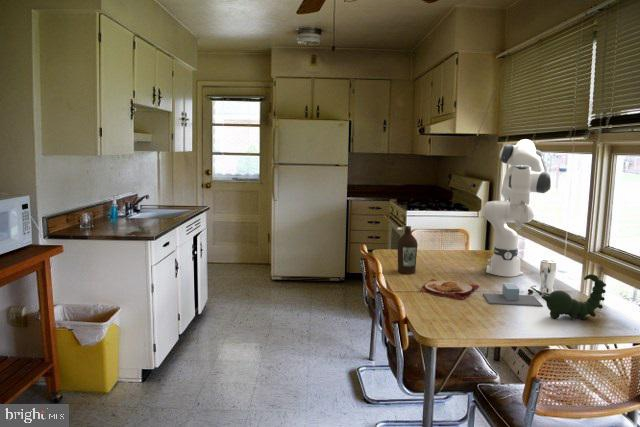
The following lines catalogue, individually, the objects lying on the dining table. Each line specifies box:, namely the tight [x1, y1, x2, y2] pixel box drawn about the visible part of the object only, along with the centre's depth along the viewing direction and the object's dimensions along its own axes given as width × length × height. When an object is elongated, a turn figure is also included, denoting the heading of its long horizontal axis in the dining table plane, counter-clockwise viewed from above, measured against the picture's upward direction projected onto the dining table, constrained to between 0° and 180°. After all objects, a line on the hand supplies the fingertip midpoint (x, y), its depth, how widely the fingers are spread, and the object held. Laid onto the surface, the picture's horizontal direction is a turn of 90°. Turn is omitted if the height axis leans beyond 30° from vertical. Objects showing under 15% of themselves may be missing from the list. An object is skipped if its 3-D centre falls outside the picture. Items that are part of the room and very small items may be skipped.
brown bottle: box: [396, 225, 418, 275], centre depth 268 cm, size 11×11×25 cm
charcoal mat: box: [483, 292, 544, 308], centre depth 220 cm, size 14×22×1 cm, turn 82°
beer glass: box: [539, 259, 557, 295], centre depth 232 cm, size 7×7×15 cm
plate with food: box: [418, 278, 480, 300], centre depth 236 cm, size 24×26×3 cm
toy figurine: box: [540, 273, 607, 321], centre depth 197 cm, size 9×19×25 cm
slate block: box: [501, 282, 520, 300], centre depth 223 cm, size 5×5×10 cm
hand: (518, 229), depth 233 cm, fingers closed
